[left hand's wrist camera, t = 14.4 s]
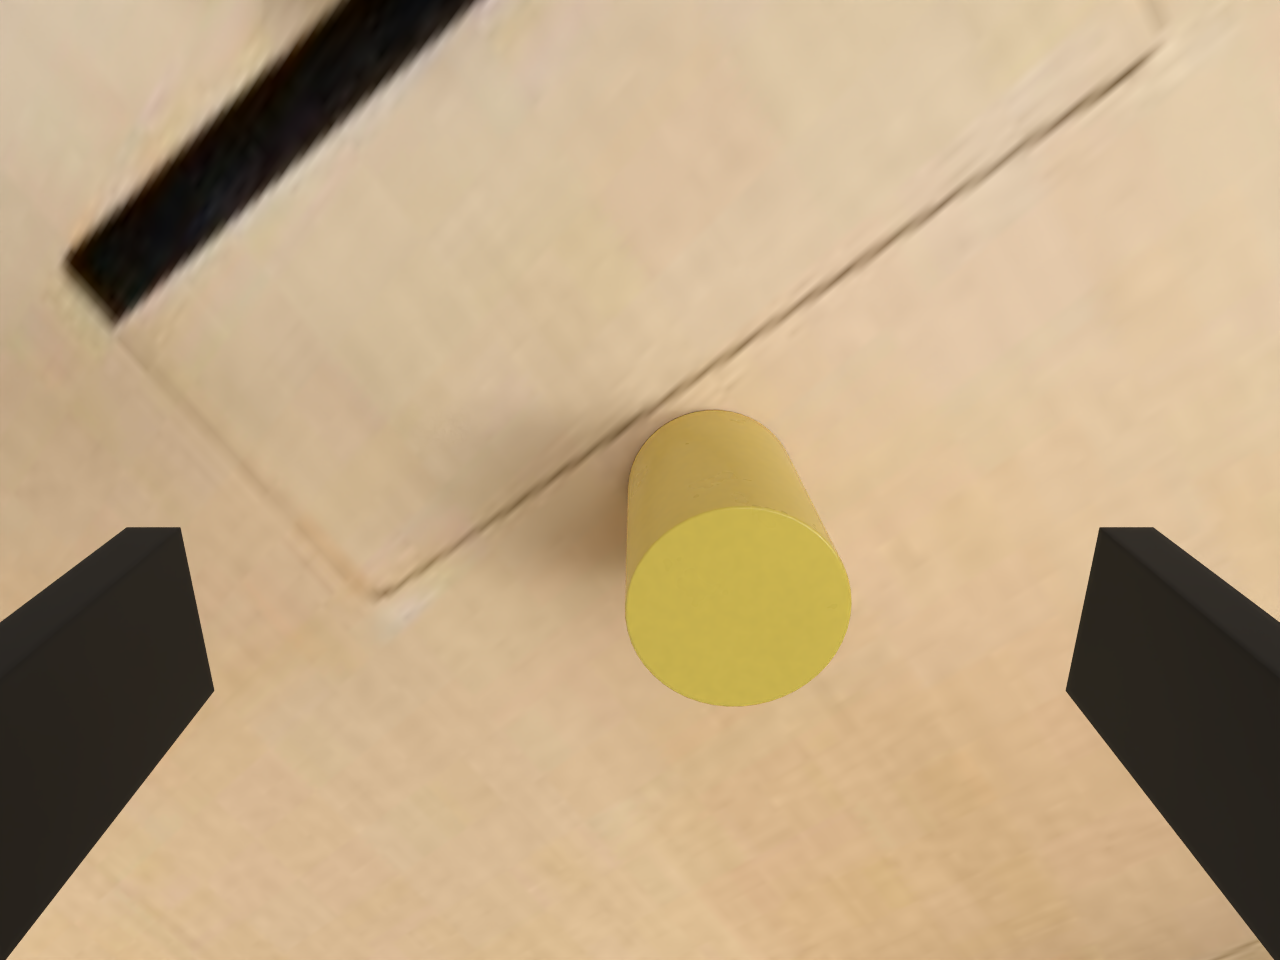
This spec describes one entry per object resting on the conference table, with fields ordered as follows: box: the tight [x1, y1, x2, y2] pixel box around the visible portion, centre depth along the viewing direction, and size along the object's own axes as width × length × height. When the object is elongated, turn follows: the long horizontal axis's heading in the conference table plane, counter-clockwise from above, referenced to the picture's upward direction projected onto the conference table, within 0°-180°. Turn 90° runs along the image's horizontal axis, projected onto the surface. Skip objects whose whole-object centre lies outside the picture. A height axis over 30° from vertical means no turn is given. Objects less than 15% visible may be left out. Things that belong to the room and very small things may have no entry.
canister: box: [625, 410, 851, 706], centre depth 27 cm, size 6×6×9 cm
